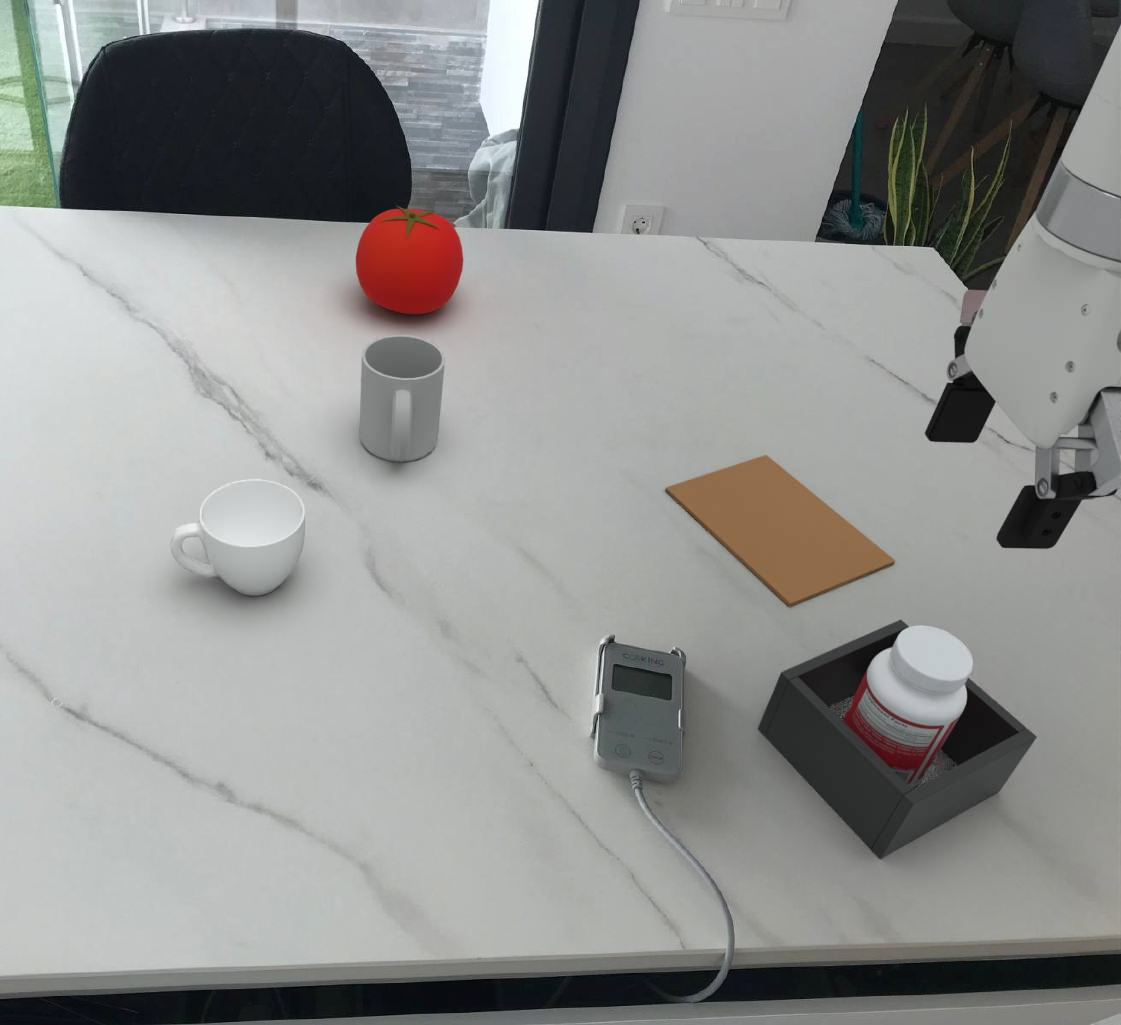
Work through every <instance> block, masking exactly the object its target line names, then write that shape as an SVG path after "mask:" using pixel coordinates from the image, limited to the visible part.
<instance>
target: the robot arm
mask: <svg viewBox="0 0 1121 1025" xmlns="http://www.w3.org/2000/svg"><path fill="white" fill-rule="evenodd" d="M1051 174H1052V175H1051V177H1050V179H1049V181H1048V183H1047V185H1046V187H1045V189H1044V192H1043V194H1042V196H1041V198H1040V200H1039V202H1038V205H1037V207H1036V210H1035V211H1034V212H1033V214H1032V215H1031V217H1030V218H1029V220H1028V221H1027V223H1026V224H1025V225H1024V227H1023V229H1022V230H1021V232H1020V234H1019V235H1018V237H1017V238H1016V240H1015V242H1014V243H1013V245H1012V246H1011V248H1010V250H1009V251H1008V253H1007V255H1006V256H1005V258H1004V260H1003V262H1002V264H1001V266H1000V268H999V269H998V271H997V272H996V275H995V277H994V279H993V281H992V283H991V285H990V286H989V288H988V289H987V290H983V289H981V290H980V289H967V290H966V291H965V292H964V294H963V297H962V303H961V310H960V317H959V323H960V324H961V325H959V326H958V327H957V328H956V329H955V331H954V333H953V344H954V359H952V360H951V361H949V363H948V364H947V367H946V377H947V379H948V380H949V381H952V382H946V384H945V385H944V386H945V387H944V389H943V391H942V393H941V396H940V398H939V399H938V402H937V404H936V406H935V409H934V412H933V413H932V416H931V418H930V420H929V422H928V424H927V426H926V429H925V431H924V435H925V437H926V439H928V441H929V442H933V443H955V444H958V443H959V444H960V443H961V444H974V443H975V442H977V441H978V439H979V437H980V435H981V433H982V431H983V429H984V428H985V425H986V423H987V421H988V419H989V417H990V415H991V413H992V411H993V409H994V407H995V406H996V404H997V405H998V406H999V408H1000V409H1001V410H1002V411H1003V413H1004V414H1005V415H1006V416H1007V418H1009V420H1010V421H1011V423H1013V424H1014V426H1015V427H1016V428H1017V429H1018V430H1019V431H1020V433H1021V434H1022V435H1023V436H1024V438H1026V439H1027V440H1028V441H1029V442H1030V443H1031V444H1032V445H1034V446H1035V456H1034V457H1035V459H1034V461H1035V462H1034V466H1035V467H1034V484H1027V485H1024V486H1023V487H1022V488H1021V490H1020V491H1019V493H1018V495H1017V497H1016V499H1015V500H1014V503H1013V505H1012V506H1011V508H1010V510H1009V511H1008V513H1007V516H1006V517H1005V519H1004V521H1003V522H1002V525H1001V527H1000V528H999V530H998V532H997V534H996V537H995V538H996V542H997V543H998V544H999V546H1000V547H1001V548H1002V549H1027V550H1028V549H1030V550H1031V549H1032V550H1033V549H1034V550H1048V549H1049V550H1050V549H1051V548H1054V547H1055V546H1056V545H1057V543H1058V542H1059V540H1060V538H1061V536H1062V535H1063V533H1064V531H1065V530H1066V528H1067V526H1068V525H1069V523H1070V522H1071V520H1072V518H1073V516H1074V514H1075V513H1076V512H1077V510H1078V508H1079V507H1080V505H1081V503H1082V501H1093V500H1095V499H1097V498H1104V497H1111V496H1114V495H1115V494H1116V493H1117V492H1118V490H1120V489H1121V24H1119V27H1118V30H1117V33H1116V34H1115V36H1114V39H1113V41H1112V43H1111V45H1110V47H1109V49H1108V52H1107V54H1106V56H1105V58H1104V60H1103V63H1102V65H1101V67H1100V69H1099V71H1098V74H1097V76H1096V78H1095V79H1094V83H1093V84H1092V87H1091V88H1090V90H1089V94H1088V96H1087V98H1086V100H1085V102H1084V104H1083V106H1082V109H1081V111H1080V113H1079V115H1078V116H1077V119H1076V121H1075V125H1074V126H1073V128H1072V131H1071V133H1070V135H1069V137H1068V139H1067V141H1066V144H1065V146H1064V148H1063V150H1062V153H1061V156H1060V157H1059V159H1058V161H1057V163H1056V165H1055V167H1054V170H1053V172H1052V173H1051ZM1076 427H1077V437H1075V436H1061V435H1068V434H1069V433H1070V432H1071V431H1073V429H1075V428H1076ZM1061 451H1074V471H1073V472H1068V473H1063V474H1062V473H1061V474H1060V462H1061V458H1060V456H1061ZM1089 1025H1121V1012H1119V1013H1117V1014H1114V1015H1112V1016H1109V1017H1107V1018H1103V1019H1101V1020H1098V1021H1095V1022H1093V1023H1090V1024H1089Z"/></svg>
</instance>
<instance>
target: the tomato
mask: <svg viewBox="0 0 1121 1025" xmlns="http://www.w3.org/2000/svg"><path fill="white" fill-rule="evenodd" d="M396 207H397V208H394V209H389V210H388V209H387V210H385V211H383V212H381V213H379V214H377V215H376V216H375V217H374V218H372V220H371V221H370V222H369V223H368V224H367V225H366V226H365V228H364V230H363V231H362V234H361V236H360V238H359V241H358V244H357V247H356V253H355V272H356V276H357V280H358V282H359V285H360V287H361V290H362V291H363V293H364V294H365V296H366V297H367V298H368V299H369V300H371V301H372V302H373V303H374V304H376V305H377V306H380V307H382V308H384V309H387V310H390V311H393V312H396V313H399V314H406V315H422V314H427V313H428V314H429V313H431V312H434V311H436V310H438V309H440V308H442V307H444V306H445V304H447V303H448V302H449V301H450V299H451V298H452V297H453V295H454V294H455V292H456V290H457V287H458V285H459V283H460V279H461V276H462V273H463V270H464V252H463V245H462V241H461V238H460V236H459V234H458V232H457V230H456V228H455V226H454V225H453V224H452V223H451V222H450V221H448V219H447V218H446V217H444V216H442V215H440V214H437V213H436V212H437V210H432V211H426V210H421V209H411V208H403V207H400V206H398V205H396Z"/></svg>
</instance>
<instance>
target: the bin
mask: <svg viewBox="0 0 1121 1025" xmlns="http://www.w3.org/2000/svg"><path fill="white" fill-rule="evenodd" d="M909 627H910V626H909V625H908V624H907V623H906V622H905V621H903V620H902V619H898V620H896V621H894V622H892V623H890V624H887V625H884V626H882V627H881V628H878V629H876V630H874V631H872V632H869V633H866V634H864V635H862V636H860V637H857V638H855V639H853V640H851V641H849V642H846V643H844V644H842V645H840V646H838V647H836V648H833V649H830V650H829V651H826V652H824V653H821V654H820V655H817V656H815V657H812V658H810V659H808V660H806V661H803V662H801V663H798V664H797V665H794V666H791V667H790V668H787V669H784V670H783V671H781V672H780V674H779V677H778V679H777V681H776V684H775V686H774V688H773V691H772V693H771V695H770V698H769V699H768V700H769V701H768V702H767V705H766V707H765V709H764V712H763V715H762V717H761V719H760V722H759V724H758V727H757V729H758V730H759V732H761V733H762V735H763V736H764V737H765V738H766V739H767V740H768V741H769V742H770V743H771V744H772V745H773V746H774V747H775V749H776V750H777V751H778V752H779V753H780V754H781V755H782V756H783V757H784V758H785V759H786V760H787V761H788V762H789V763H790V764H791V766H792V767H793V768H794V769H795V770H796V771H797V772H798V773H799V775H800V776H802V777H803V779H805V781H806V782H807V783H808V784H809V785H810V786H811V787H812V788H813V790H814V791H816V793H818V794H819V795H820V797H821V798H822V799H823V800H824V801H825V802H826V803H827V804H828V805H829V806H830V807H831V809H833V810H834V812H835V813H836V814H837V815H838V816H839V817H840V818H841V819H842V820H843V821H844V822H845V823H846V825H847V826H848V827H849V828H851V830H853V832H854V833H855V834H856V835H857V836H858V837H859V838H860V839H861V840H862V841H863V843H864V844H865V845H866V846H867V847H868V848H869V849H870V850H871V851H872V852H873V853H874V854H875V855H876V857H877V858H879V859H880V860H881V859H883V858H885V857H887V856H888V855H891V854H893V853H894V852H895V851H897V850H899V849H901V848H902V847H904V846H906V845H908V844H911V842H913V841H915V840H916V839H918V838H920V837H922V836H923V835H925V834H927V833H929V832H930V831H932V830H934V829H936V828H938V827H940V826H941V825H943V824H945V823H947V822H948V821H950V820H952V819H954V818H956V817H957V816H959V815H962V814H963V813H964V812H967V811H968V810H970V809H971V808H973V807H975V806H976V805H978V804H980V803H983V802H984V801H986V800H987V799H989V798H992V797H993V796H994V795H996V794H998V793H1000V792H1001V790H1002V789H1003V787H1004V786H1005V784H1006V783H1007V782H1008V780H1009V779H1010V777H1011V776H1012V774H1013V773H1014V771H1015V769H1017V767H1018V765H1019V764H1020V763H1021V761H1022V760H1023V759H1024V757H1025V755H1026V754H1027V752H1028V751H1029V749H1030V748H1031V747H1032V745H1033V744H1034V742H1035V741H1036V739H1037V738H1038V736H1037V735H1036V734H1035V733H1034V732H1032V731H1031V730H1030V729H1029V728H1027V727H1026V726H1025V725H1024V724H1023V723H1022V722H1021V721H1020V720H1018V719H1017V718H1016V717H1015V716H1014V715H1013V714H1012V713H1010V712H1009V711H1008V710H1007V709H1005V707H1003V706H1002V705H1001V704H1000V703H999V702H997V700H996V699H995V698H993V697H991V695H989V694H988V693H987V692H986V691H985V690H984V689H982V688H981V687H980V685H978V684H976V682H974V681H973V680H972V679H971V678H970V677H968V679H967V681H966V683H965V687H966V691H967V701H966V705H965V708H964V710H963V712H962V714H961V716H960V717H959V719H958V721H957V722H956V724H955V726H954V727H953V729H952V731H951V732H950V734H949V736H948V737H947V739H946V741H945V742H944V744H943V746H942V747H941V749H940V750H942V751H943V752H944V753H945V754H947V756H949V757H950V758H951V759H952V760H953V761H954V762H955V763H956V764H957V765H955V766H954V767H953V768H950V769H948V770H947V771H944V772H942V773H941V774H939V775H937V776H936V777H933V778H932V779H930V780H928V781H926V782H924V783H922V784H921V785H919V786H916V787H914V788H912V789H911V788H910V787H909V786H908V785H907V784H906V783H905V782H904V781H903V780H902V779H901V778H900V777H899V776H898V775H897V774H896V773H895V772H894V771H893V770H892V769H891V768H890V767H889V766H888V765H887V764H886V763H885V762H884V761H883V760H882V759H881V758H880V757H879V756H878V755H877V754H876V753H875V752H874V751H873V750H872V749H871V748H870V747H869V746H868V745H867V744H866V743H865V742H864V741H863V740H862V739H861V738H860V737H859V736H858V735H857V734H856V733H855V732H854V731H853V730H852V729H851V728H850V727H849V726H848V725H847V724H845V723H844V722H843V721H842V720H843V719H842V718H841V717H839V715H838V714H837V713H836V712H835V711H833V709H832V708H831V707H830V706H832V705H834V704H837V703H839V702H841V701H844V700H846V699H847V698H849V697H851V696H854V695H855V693H856V692H857V689H858V687H859V685H860V683H861V681H862V679H863V677H864V675H865V673H866V671H867V669H868V667H869V665H870V663H871V662H872V660H873V659H874V658H875V656H877V655H878V654H879V653H880V652H882V651H884V650H886V649H888V648H892V647H893V645H894V643H895V641H896V639H897V637H898V635H899V634H900V633H901V632H902V631H903V630H904V629H906V628H909Z"/></svg>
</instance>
